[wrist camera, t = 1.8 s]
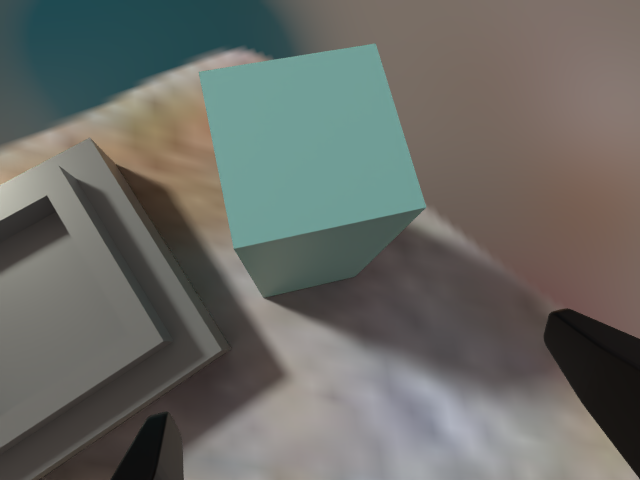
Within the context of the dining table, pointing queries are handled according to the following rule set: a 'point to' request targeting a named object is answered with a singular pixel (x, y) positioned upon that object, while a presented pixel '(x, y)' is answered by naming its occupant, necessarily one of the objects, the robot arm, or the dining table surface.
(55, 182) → the base brick
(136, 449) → the robot arm
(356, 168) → the column brick
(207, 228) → the dining table surface
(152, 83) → the dining table surface
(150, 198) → the dining table surface
